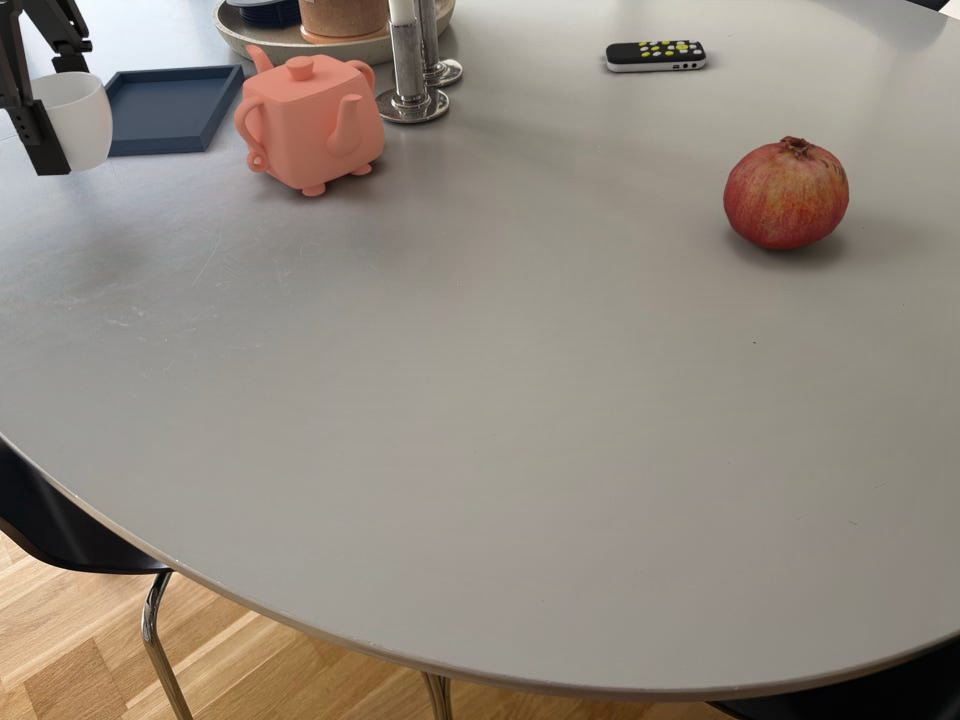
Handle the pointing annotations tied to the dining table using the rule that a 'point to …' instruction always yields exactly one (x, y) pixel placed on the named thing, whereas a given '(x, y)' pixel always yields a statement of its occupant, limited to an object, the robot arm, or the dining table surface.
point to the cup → (77, 116)
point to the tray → (169, 107)
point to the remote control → (655, 56)
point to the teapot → (309, 120)
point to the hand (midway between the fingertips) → (75, 147)
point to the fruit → (786, 194)
